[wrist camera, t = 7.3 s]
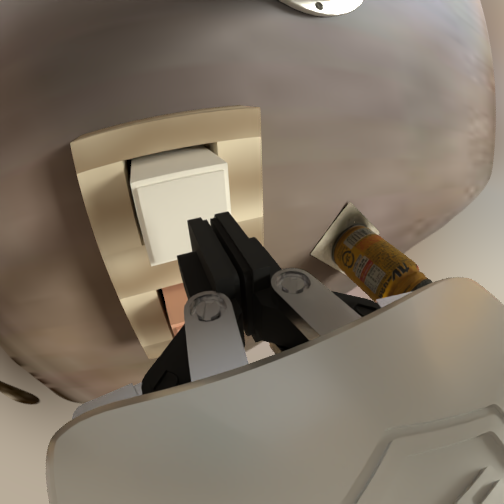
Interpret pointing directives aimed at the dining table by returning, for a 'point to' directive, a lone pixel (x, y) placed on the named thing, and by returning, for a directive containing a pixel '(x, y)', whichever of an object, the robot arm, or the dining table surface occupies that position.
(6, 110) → the dining table surface
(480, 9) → the dining table surface
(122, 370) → the dining table surface
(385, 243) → the condiment
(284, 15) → the dining table surface
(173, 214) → the ivory key
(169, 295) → the terracotta key
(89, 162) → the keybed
